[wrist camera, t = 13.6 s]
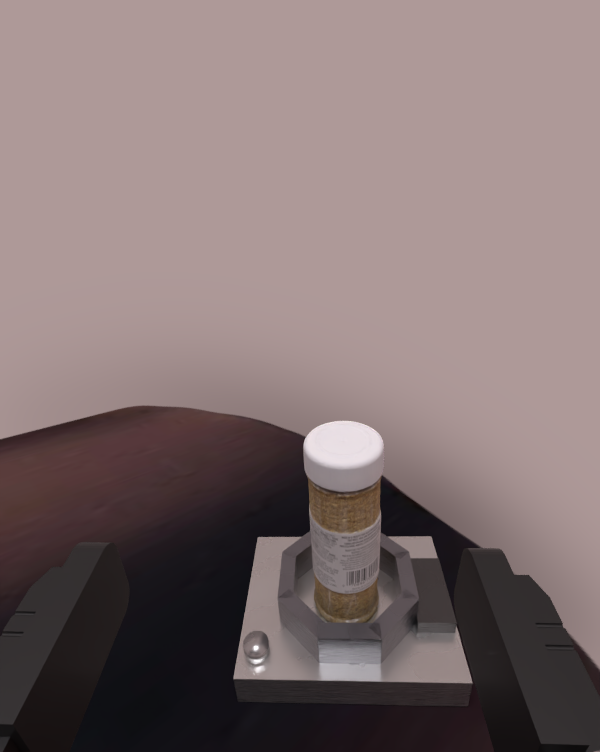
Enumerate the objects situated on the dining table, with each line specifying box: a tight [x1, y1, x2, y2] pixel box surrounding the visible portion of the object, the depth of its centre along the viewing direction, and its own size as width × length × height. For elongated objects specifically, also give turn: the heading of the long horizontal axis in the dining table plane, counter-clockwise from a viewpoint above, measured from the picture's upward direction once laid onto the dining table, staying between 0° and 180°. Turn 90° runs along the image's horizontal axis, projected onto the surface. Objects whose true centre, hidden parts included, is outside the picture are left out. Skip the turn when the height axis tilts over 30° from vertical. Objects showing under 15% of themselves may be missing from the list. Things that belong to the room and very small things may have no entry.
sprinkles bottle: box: [304, 421, 384, 623], centre depth 28 cm, size 5×5×14 cm
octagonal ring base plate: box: [234, 531, 473, 707], centre depth 31 cm, size 14×11×5 cm
